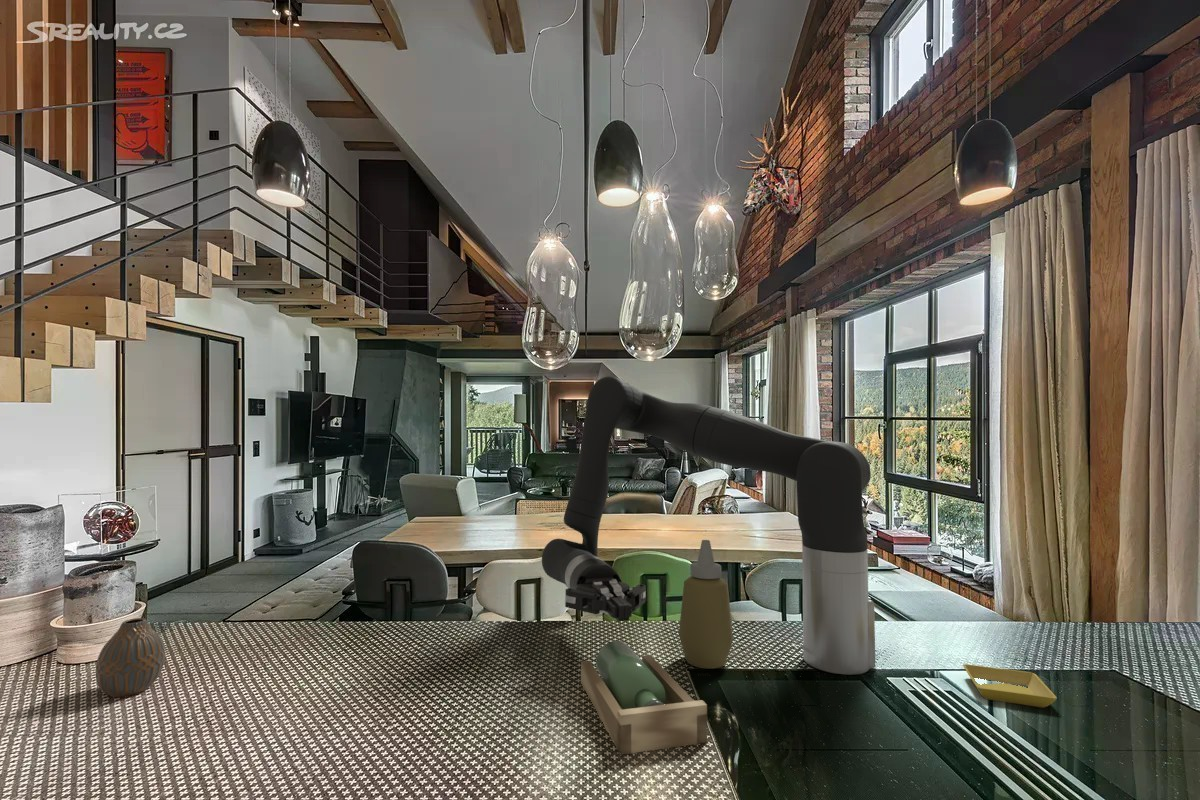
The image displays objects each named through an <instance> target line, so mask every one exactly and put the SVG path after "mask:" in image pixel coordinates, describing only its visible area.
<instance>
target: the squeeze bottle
mask: <svg viewBox="0 0 1200 800" xmlns="http://www.w3.org/2000/svg"><path fill="white" fill-rule="evenodd" d="M689 569H690V570H689V572H690V573H689V574H690V576H688V577H687V578H686V579H685V580H684V581H683V588H682V589H683V591H682V599H681V600H682V601H681V609H680V620H679V626H678V627H679V630H678V637H679V640H680V644H681V648H682V651H683V653H684V657H685V660H686V662H687V663H688V664H689V665H690V666H694V667H696V668H700V669H710V670H711V669H720V668H722V667H724V666H725V665H726V664H727V663H726V662H727V660H728V656H729V654H730V651H731V647H732V645H733V641H734V633H733V624H732V614H731V604H730V603H731V602H730V595H729V584H728V583H727V581H726V580H724V579H723V578H721V577H722V565H721V564H719V563H716V562H715V559H714V555H713V551H712V545H711V541H710V540H709V539H702V540H701V543H700V548H699V552H698V557H697V561H694V562H691V563H690V566H689Z"/></svg>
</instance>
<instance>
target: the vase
mask: <svg viewBox="0 0 1200 800" xmlns="http://www.w3.org/2000/svg"><path fill="white" fill-rule="evenodd" d="M165 659H166V649H165V645H164V642H163V639H162V637H161V636H160V635H159V634H158V633H157V632H156V631H155V630H154V629H153V627H151V626H150V625H149V623H148V621H147V619H146V618H144V617H138V618H136V617H135V618H130V619H127V620H124V621H123V622H121V624H120V626H119V628H118V629H117V631H116V632H115V633H114V634H113V635H112V636H111V637H110V639H108V641H106V642H105V644H104V646H103V647H102V648H101V650H100V653H99V655H98V657H97V659H96V664H95V679H96V683H97V685H98V686H97V687H99V689H100V690H101V691H102V692H103V693H104V694H105V695H108V696H109V697H112V698H123V697H129V696H133V695H136V694H139V693H142V692H144V691H146V690H147V689H148V688H150V687H151V686H152V685H153V684H154V683H155V681H157V679H158V678H159V676H160V675H161V673H162V670H163V667H164V664H165Z"/></svg>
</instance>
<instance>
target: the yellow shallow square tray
mask: <svg viewBox="0 0 1200 800" xmlns="http://www.w3.org/2000/svg"><path fill="white" fill-rule="evenodd" d="M962 666H963V668H964V669H965V671H966V673H967V675H968V676H969V677H970V678H969V679H971V681H972V683H973V684H974V687H976V689H977V690H978V692H979V693H980V695H981V697H983V698H984V699H986V700H990V701H998V702H1002V703H1003V702H1004V703H1011V704H1017V705H1024V706H1030V707H1036V708H1043V709H1044V708H1046V707H1048V706H1049V707H1050V706H1051V704H1053V703H1054V702H1056V701H1057V698H1058V697H1057V696H1056V695H1055V694H1054V693H1053V691H1052V690H1051V689H1050V688H1049V687H1048V686H1047V685H1046V684H1045V683H1044V681H1043V680H1042V679H1041V678H1040V677H1039V676H1038V675H1037V674H1036V673H1034V672H1030V671H1024V670H1015V669H1008V668H1000V667H999V668H998V667H990V666H982V665H975V664H968V663H967V664H963V665H962ZM974 678H978V679H979V678H980V679H984V680H985V679H986V680H991V681H997V682H998V681H999V682H1001V683H999V684H998V683H996V684H989V683H988V684H985V683H984V684H982V685H980V684H978V683H977V682H976V681H975V679H974ZM1003 682H1004V684H1002V683H1003ZM1006 683H1007V684H1006ZM1008 683H1010V684H1008ZM1011 683H1013V684H1016V685H1017V684H1018V686H1016V685H1012V684H1011ZM1019 684H1020V685H1021V684H1022V685H1026V686H1028V688H1026V687H1024V686H1023V687H1022V686H1020V685H1019Z"/></svg>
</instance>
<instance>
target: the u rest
mask: <svg viewBox="0 0 1200 800" xmlns="http://www.w3.org/2000/svg"><path fill="white" fill-rule="evenodd" d="M641 656H642V657H641V660H642V662H643V663H644V664H645V665H646V666H647V667H648V669H649V670H650V671H651V672H652V673H653V674H654V675H655V677H656V678H657V679H658V680H659V681H660V682H661V684H662V685H663V687H664V690H665V695H666V698H665V705H656V706H648V707H640V708H631V709H622V708H621V706H620V705H619V703H618V702H617V700H616V698H615V697H614V695H613V694H612V692H611V691H610V689H609V688H608V686H607V685H606V683H605V681H604V680H603V678H602V677H601V675H600V674H599V672H598V670H597V668H595V666H594V664H593V663H592V662H591V660H583V661H580V665H581V666H580V685H581V684H582V685H581V687H582V686H583V687H582V688H584V689H583V691H584V690H585V691H586V693H587V694H586V693H585V694H586V696H587V695H588V696H587V698H588V697H589V698H590V700H591V701H590V700H589V701H590V703H591V702H592V703H591V705H592V704H593V705H592V707H593V706H594V707H595V709H596V710H595V709H594V710H595V712H596V711H597V712H596V714H597V713H598V714H597V715H599V716H598V718H599V720H600V721H601V723H602V722H603V723H602V725H603V724H604V725H603V726H604V728H605V730H606V732H607V734H608V733H609V734H608V736H609V737H610V739H611V741H612V742H613V744H614V746H615V747H616V750H617V752H618V753H619V755H628V754H634V753H635V754H636V753H642V752H649V751H650V752H651V751H657V750H663V749H671V748H672V749H673V748H678V747H683V746H684V747H685V746H691V745H698V744H705V743H708V704H707V703H706V702H705V701H704V700H702V699H700V700H699V699H698V700H694V699H693V698H692V697H691V696H690V694H689V693H687V692H686V690H685V689H683V688H682V687H681V686H680V684H679V683H678V682H677V681H676V680H675V679H674V678H673V676H671V675H670V674H669V673H668V672H667V671H666V669H664V668H663V666H661V664H660V663H659V662H658V661H657V660H656V659H655V658H654V657H653V656H652V655H651V654H645V655H641ZM585 691H584V692H585ZM589 698H588V699H589ZM594 707H593V708H594Z"/></svg>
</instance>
